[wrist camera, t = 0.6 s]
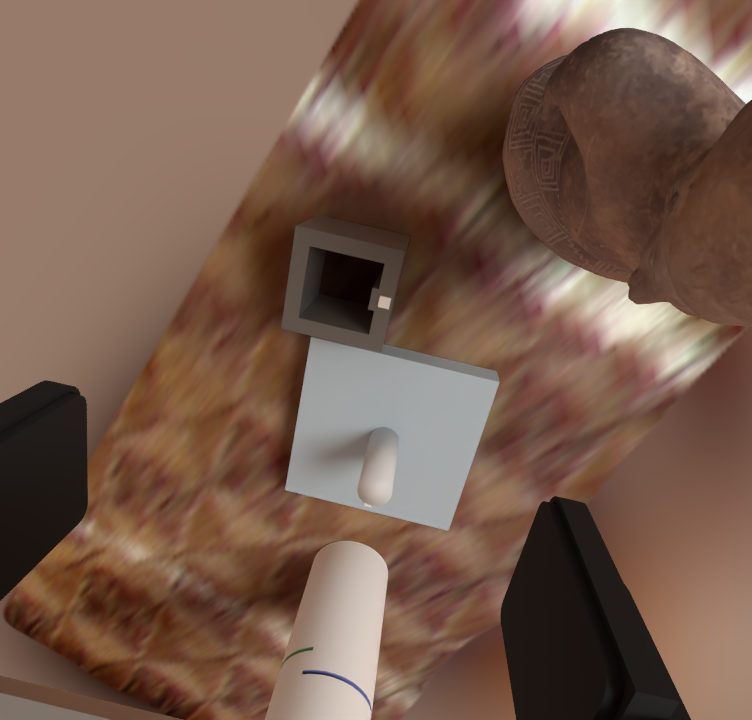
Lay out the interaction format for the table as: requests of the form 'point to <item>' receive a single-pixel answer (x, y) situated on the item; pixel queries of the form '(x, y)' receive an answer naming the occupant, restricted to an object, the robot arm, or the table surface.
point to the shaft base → (399, 404)
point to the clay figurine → (639, 172)
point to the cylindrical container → (334, 638)
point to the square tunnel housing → (335, 314)
